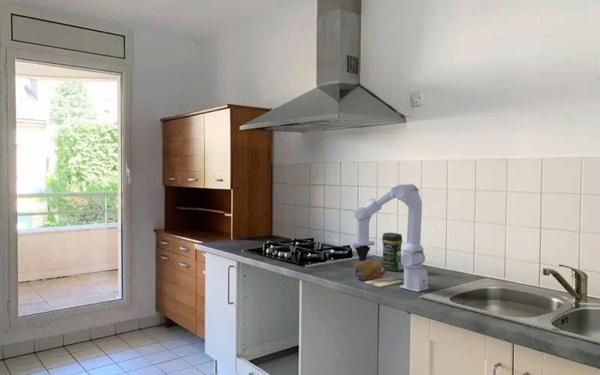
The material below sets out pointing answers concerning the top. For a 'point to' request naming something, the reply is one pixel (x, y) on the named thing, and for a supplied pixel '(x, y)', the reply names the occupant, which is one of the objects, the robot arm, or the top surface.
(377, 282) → the birch board
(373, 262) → the orange-brown flat oval
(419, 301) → the top surface
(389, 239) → the coffee jar
